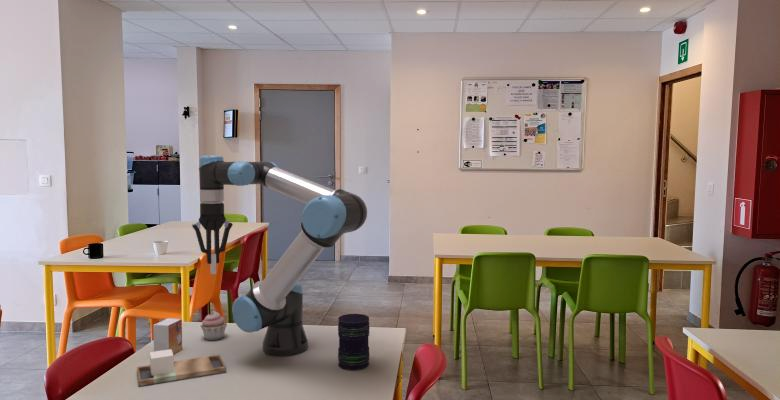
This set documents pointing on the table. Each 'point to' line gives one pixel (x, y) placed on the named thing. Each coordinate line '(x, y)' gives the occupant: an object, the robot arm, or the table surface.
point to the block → (161, 362)
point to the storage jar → (353, 342)
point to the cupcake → (213, 326)
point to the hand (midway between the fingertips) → (213, 273)
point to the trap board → (183, 370)
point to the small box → (168, 335)
